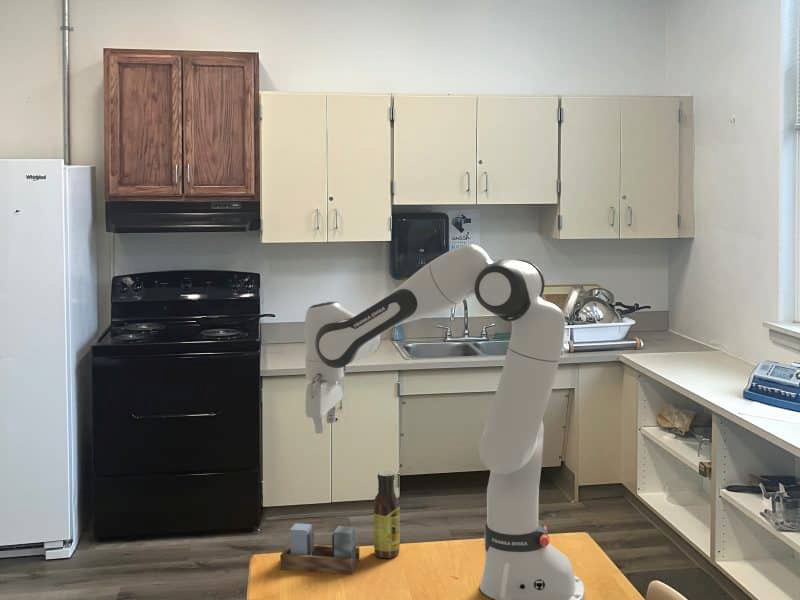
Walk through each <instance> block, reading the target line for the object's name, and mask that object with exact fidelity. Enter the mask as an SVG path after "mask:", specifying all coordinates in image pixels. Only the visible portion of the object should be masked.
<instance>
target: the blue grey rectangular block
mask: <svg viewBox="0 0 800 600" xmlns="http://www.w3.org/2000/svg"><path fill="white" fill-rule="evenodd" d="M314 532H315V531H314V529H313V527H312V523H311V524H310V523H294V524H293V525H292V527H291V528H290V529H289V539H290V543H289V544H290V546H291V554H297V555H312V552H313V551H314V544H315V537H314V535H315V533H314Z"/></svg>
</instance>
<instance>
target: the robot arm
mask: <svg viewBox="0 0 800 600" xmlns="http://www.w3.org/2000/svg"><path fill="white" fill-rule="evenodd" d="M544 291H545V277H544V274H543V273H542V271H541V269H540V268H539V267H537V266H536V265H535V264H534V263H532V262H530V261H527V260H523V259H499V260H498V261H496V262H494V261H493V260H492V259H491V258H490V256H489V254H488V253H487V252H486V251H485V250H484V249H483V248H482V247H480V246H479V245H477V244H473V243H466V244H463V245H461V246H458V247H456V248H454V249H450V250H448V251H446V252H445V253H443V254H442V255H439V256H438V257H436V258H435V259H433V260H431V261H430V262H428V263H427V264H425V265H424V266H423V267H421V268H420V269H419V270H418V271H416V272H415V273H413V274H412V275H411V276H410V277H409V278H408V279H406V280H405V281H404V282H403V283H402V284H400V285H399V286H398V287H397V288H395V290H393V291H392V292H390V293H389V294H388V295H386V296H385V297H384V298H382V299H381V300H379V301H377V302H376V303H374V304H373V305H371V306H370V307H368V308H366V309H364V310H363V311H362V312H359V313H358V314H355V313H354V312H351V311H349V310H347V309H346V308H345V307H343V306H342V305H341V304H340V303H339V302H338V301H328V302H327V301H326V302H322V303H318V304H317V303H316V304H313V305H311V306H309V307H308V309H307V310H306V314H305V318H304V319H305V320H304V321H305V322H304V343H305V345H306V352H305V357H304V359H305V378H306V379H307V380H310V383H308V384H307V386H306V390H305V415H306V417H307V418H309V419H312V421H313V424H314V426H315V427H314V428H315V429H314V431H315V433H316V434H320V435H321V434H323V433H324V432H325V424H324V415H326V414H327V415H326V423H328V424H333V423H335V422H336V413H337V409H338V405H337V404H339V403H340V402H341V401H342V400H343V397H344V393H345V392H344V391H345V390H344V389H345V373H346V372H347V365H349V364H351V363H354V362H357V361H360V360H362V359H364V358H367V357H369V356H371V355H373V354H374V353H376V352H377V351H378V349H379V348H380V346H381V341H382V334H383V333H385V332H387V331H388V330H390V329H392V328H395V327H397V326H400V325H402V324H404V323H408V322H409V323H410V322H412V321H416V320H421V319H425V318H429V317H433V316H437V315H438V314H441V313H443V312H446V311H448V310H450V309H452V308H454V307H455V306H457V305H459V304H461V303H463V301H465V300H467V299H469V298H470V297H472V296H475V298H476V299H477V301H478V303H479V304H480V305H481V306H482V307H483V309H486V310H487V311H489V312H490V313H492V314H494V315H495V316H497V317H498V318H500V319H501V320H503V321H505V322H507V323H510V322H511V333H510V338H509V342H508V347H507V349H506V350H507V351H506V355H505V358H504V363H503V367H502V370H501V375H500V379H499V383H498V386H497V389H496V392H495V394H494V397H493V400H492V403H491V406H490V408H489V412H488V414H487V418H486V421H485V424H484V428H483V432H482V434H481V437H480V440H479V445H478V455H479V458H480V460H481V462H482V464H483V465H484V466H485V467H486V468H487V469H488V470H489V471H490V472H489V473H490V474H489V477H488V483H487V488H486V523H485V527H484V533H483V534H484V537H483V538H484V539H483V540H484V549H485V559H484V567H483V571H482V577H481V579H480V583H479V589H480V591H481V593H483V594H484V595H485V596H487V597H489V598H491V599H494V600H584V599H585V595H586V594H585V593H586V592H585V585H584V582H583V580H581V578H580V577H578V575H575V573H574V569H573V566H572V564H571V561H570V559H569V558H568V557H567V556H566V555H565V554H564V553H563V552H561V551H560V550H558V549H557V548H555V546H553V545H551V543H550V536H549V532H548V531H549V530H547V526H546V525H544V526H542V525H541V524H539V495H540V494H539V492H540V481H541V471H542V462H543V453H544V452H543V448H544V435H545V434H544V433H545V425H544V421H543V418H544V415H545V412H546V409H547V406H548V404H549V401H550V398H551V395H552V392H553V389H554V388H553V387H554V384H555V379H556V375H557V372H558V368H559V363H560V359H561V355H562V350H563V347H564V346H563V345H564V337H565V330H566V329H565V328H566V327H565V326H566V324H565V323H566V318H565V317H566V316H565V314H564V312H563V310H562V309H561V308H559V306H557V305H556V304H554V303H552V302H549V301H546V300H544V299H542V296H543V293H544Z"/></svg>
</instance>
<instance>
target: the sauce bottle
mask: <svg viewBox="0 0 800 600" xmlns="http://www.w3.org/2000/svg"><path fill="white" fill-rule="evenodd" d="M377 481H378V482H377V483H378V484H377V485H378V488H377V491H378V492H377V495H376V496H374V500H373V513H372V514H373V548H374V555H375V556H376V557H379V558H381V559H390V558H394V557H396V556H398V555H399V554H400V547H401V546H400V545H401V543H400V542H401V541H400V540H401V539H400V534H401V531H400V527H401V525H400V521H401V520H400V518H401V517H400V504H399V500H398V498H397V495H396V492H395V482H394V481H395V473H394V472H393V471H387V470H386V471H380V472H378V473H377Z"/></svg>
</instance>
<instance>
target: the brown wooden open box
mask: <svg viewBox="0 0 800 600" xmlns="http://www.w3.org/2000/svg"><path fill="white" fill-rule="evenodd" d="M331 536H332V537H331V543H332V544H330V545H329V544H316V543H314V551H313V552H312V555H297V554H291V546H290V543H289V544H288V545H287V546H286V547H285V549H283V551H282V552H281V553H280V554H279V557H280V558H279V559H280V560H279V561H280V562H279V563H280V565H279V566H280V570H284V569H289V570H288V571H303V572H312V573H314V572H316V573H327V574H328V573H329V574H340V575H341V574H342V575H353V573H354V571H355V570H356V568H357V566H358V564H359V563H360V558H361V557H360V546H359V547H358V546H356V526H343V525H338V526H337V527H336V529H335V530H334V531H333V533H332V535H331Z"/></svg>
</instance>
